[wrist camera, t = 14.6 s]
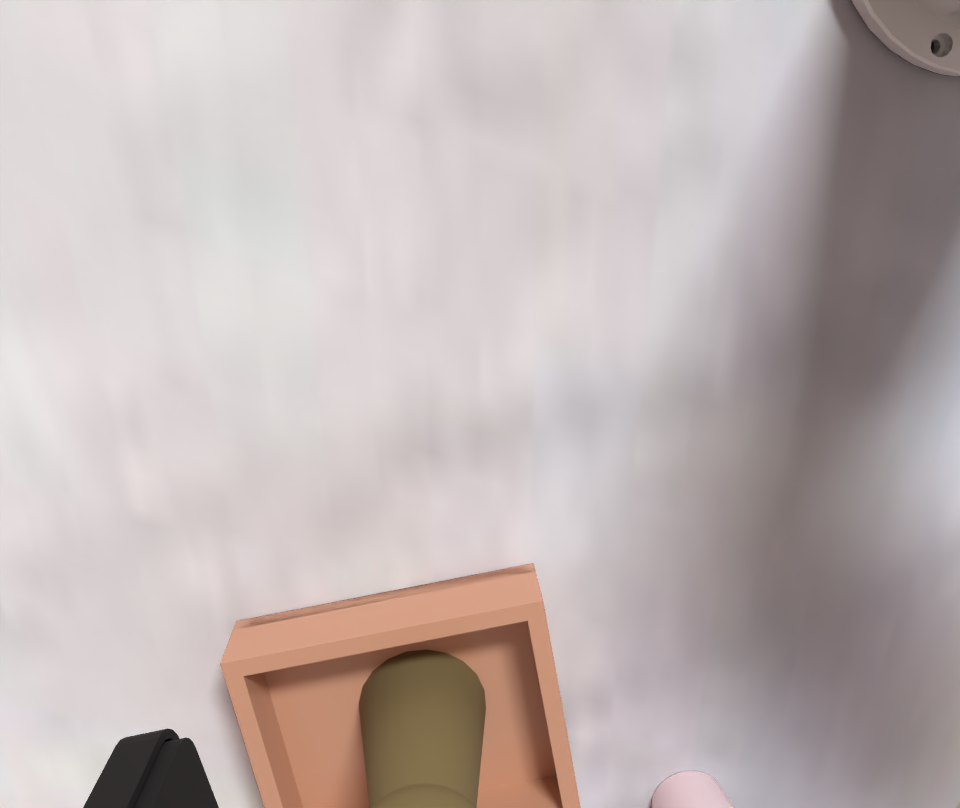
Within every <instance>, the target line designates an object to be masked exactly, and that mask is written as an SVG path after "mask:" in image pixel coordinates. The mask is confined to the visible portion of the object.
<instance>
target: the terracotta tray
mask: <svg viewBox="0 0 960 808" xmlns="http://www.w3.org/2000/svg"><path fill="white" fill-rule="evenodd" d="M425 649H427V650H433V651H439V652H444V653H448V654H450V655H452V656H454V657H456V658H458V659H460V660H462V661H464V662H465V663H466V664H467V665H468V666H469V667H470V668H471V669H472V670H473V671H474V672H475V673H476V674H477V676H478V678H479V680H480V682H481V684H482V686H483V688H484V690H485V700H486V714H485V724H484V735H483V745H482V755H481V766H480V776H479V787H478V797H477V808H581V807H580V802H579V796H578V791H577V785H576V780H575V774H574V769H573V763H572V758H571V752H570V747H569V741H568V736H567V730H566V725H565V719H564V714H563V708H562V703H561V697H560V691H559V686H558V680H557V675H556V669H555V664H554V658H553V653H552V647H551V642H550V636H549V631H548V625H547V620H546V614H545V609H544V603H543V599H542V595H541V591H540V587H539V583H538V580H537V576H536V572H535V568H534V564H533V563H532V564H527V565H522V566H517V567H512V568H507V569H502V570H496V571H491V572H486V573H481V574H476V575H471V576H466V577H460V578H455V579H450V580H445V581H440V582H435V583H430V584H425V585H419V586H414V587H409V588H404V589H399V590H394V591H389V592H384V593H378V594H373V595H368V596H363V597H358V598H353V599H348V600H342V601H337V602H332V603H327V604H322V605H317V606H312V607H307V608H301V609H296V610H291V611H286V612H281V613H276V614H271V615H266V616H260V617H255V618H250V619H245V620H240V621H236V624H235V626H234V629H233V631H232V634H231V637H230V639H229V642H228V644H227V647H226V650H225V652H224V655H223V658H222V660H221V663H220V665H221V669H222V672H223V675H224V678H225V681H226V685H227V688H228V691H229V694H230V698H231V701H232V704H233V707H234V711H235V714H236V717H237V720H238V723H239V727H240V730H241V733H242V736H243V740H244V743H245V746H246V749H247V752H248V756H249V759H250V762H251V765H252V769H253V772H254V775H255V778H256V782H257V785H258V788H259V791H260V794H261V798H262V801H263V804H264V807H265V808H369V801H368V791H367V781H366V771H365V761H364V752H363V742H362V732H361V722H360V713H359V700H360V695H361V691H362V687H363V685H364V683H365V682H366V680H367V679H368V677H369V676H370V674H371V673H372V671H373V670H375V669H376V668H377V667H378V666H380V665H381V664H382V663H383V662H385V661H386V660H387V659H389V658H391V657H394V656H396V655H399V654H401V653H404V652H406V651H416V650H425Z"/></svg>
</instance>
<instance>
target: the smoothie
mask: <svg viewBox="0 0 960 808" xmlns="http://www.w3.org/2000/svg"><path fill="white" fill-rule="evenodd" d="M652 808H734V807H733V805H732V804H731V802H730V801H729V799H728V798H727V796H726V795H725V793H724V792H723V790H722V789H721V787H720V786H719V784H718V783H717V781H716V780H715V779H713V778H712V777H711V776H709V775H707V774H705V773H702V772H698V771H685V772H680V773H677V774H674V775H672V776H670V777H668V778H667V779H666V780H664V781H663V782H662V783H661V784H660V785H659V786H658V788H657V789H656V791H655V793H654V795H653V798H652Z"/></svg>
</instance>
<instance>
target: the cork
mask: <svg viewBox="0 0 960 808" xmlns="http://www.w3.org/2000/svg"><path fill="white" fill-rule="evenodd" d="M359 713H360V722H361V732H362V742H363V752H364V761H365V771H366V781H367V791H368V801H369V808H477V797H478V787H479V776H480V766H481V755H482V745H483V735H484V724H485V714H486V700H485V690H484V688H483V686H482V684H481V682H480V680H479V678H478V676H477V674H476V673H475V672H474V671H473V670H472V669H471V668H470V667H469V666H468V665H467V664H466V663H465V662H464V661H462V660H460V659H458V658H456V657H454V656H452V655H450V654H448V653H444V652H439V651H433V650H427V649H425V650H416V651H406V652H404V653H401V654H399V655H396V656H394V657H391V658H389V659H387V660H386V661H385V662H383V663H382V664H381V665H380V666H378V667H377V668H376V669H375V670H373V671H372V673H371V674H370V676H369V677H368V679H367V680H366V682H365V683H364V685H363V687H362V691H361V695H360V700H359Z"/></svg>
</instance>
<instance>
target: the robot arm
mask: <svg viewBox="0 0 960 808" xmlns="http://www.w3.org/2000/svg"><path fill="white" fill-rule="evenodd" d="M852 2H853V4H854V6H855V8H856V9H857V11H858V12H859V14H860V15H861V17H862V18H863V20H864V22H865V23H866V25H867V26H868V28H869V29H870V30H871V31H872V32H873V33H874V34H875V35H876V36H877V37H878V38H879V39H880V40H881V41H882V42H883V43H884V44H885V45H886V46H887V47H888V48H889V49H890V50H891V51H893V52H894V53H896V54H898V55H899V56H901V57H902V58H904V59H905V60H907V61H909V62H910V63H912V64H913V65H916V66H919V67H921V68H924V69H927V70H930V71H933V72H935V73H938V74H943V75H951V76H959V77H960V0H852ZM931 42H933V43H934V51H933V52H932V51H931V48H930V47H931ZM83 808H219V807H218V805H217V802H216V799H215V797H214V794H213V792H212V789H211V786H210V784H209V781H208V778H207V776H206V773H205V771H204V768H203V765H202V763H201V760H200V758H199V755H198V752H197V750H196V747H195V745H194V743H193V742H192V741H191V740H190V739H189V738H182V739H179V737H178V735H177V734H176V733H175V732H174V731H173V730H171V729H164V730H159V731H154V732H150V733H145V734H140V735H135V736H130V737H125V738H123V739H121V740H120V741H119V742H118V744H117V745H116V747H115V748H114V750H113V752H112V754H111V756H110V758H109V760H108V762H107V764H106V765H105V767H104V769H103V771H102V773H101V775H100V777H99V779H98V781H97V783H96V784H95V786H94V788H93V790H92V792H91V794H90V796H89V798H88V800H87V801H86V803H85V805H84V807H83Z"/></svg>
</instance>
